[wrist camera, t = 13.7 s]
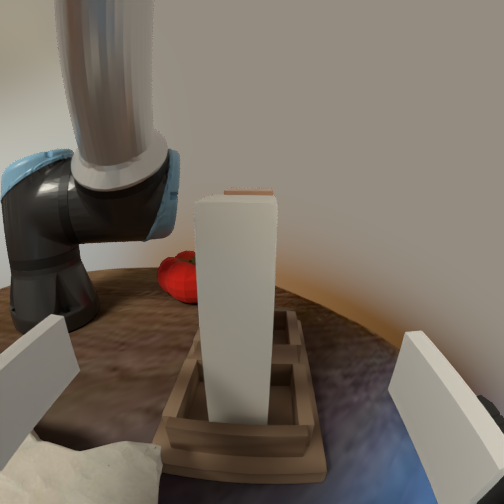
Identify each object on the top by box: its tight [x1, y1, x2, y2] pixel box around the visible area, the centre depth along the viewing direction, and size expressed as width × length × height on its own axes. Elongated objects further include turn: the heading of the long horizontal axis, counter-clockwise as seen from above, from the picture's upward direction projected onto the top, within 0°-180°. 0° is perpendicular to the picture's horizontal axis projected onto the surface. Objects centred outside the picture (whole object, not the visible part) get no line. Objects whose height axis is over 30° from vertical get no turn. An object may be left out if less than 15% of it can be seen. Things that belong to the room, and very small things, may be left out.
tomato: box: [157, 251, 198, 303], centre depth 46 cm, size 10×11×6 cm
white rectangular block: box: [194, 195, 278, 425], centre depth 18 cm, size 4×5×16 cm
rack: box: [152, 307, 327, 484], centre depth 25 cm, size 22×12×4 cm, turn 177°
